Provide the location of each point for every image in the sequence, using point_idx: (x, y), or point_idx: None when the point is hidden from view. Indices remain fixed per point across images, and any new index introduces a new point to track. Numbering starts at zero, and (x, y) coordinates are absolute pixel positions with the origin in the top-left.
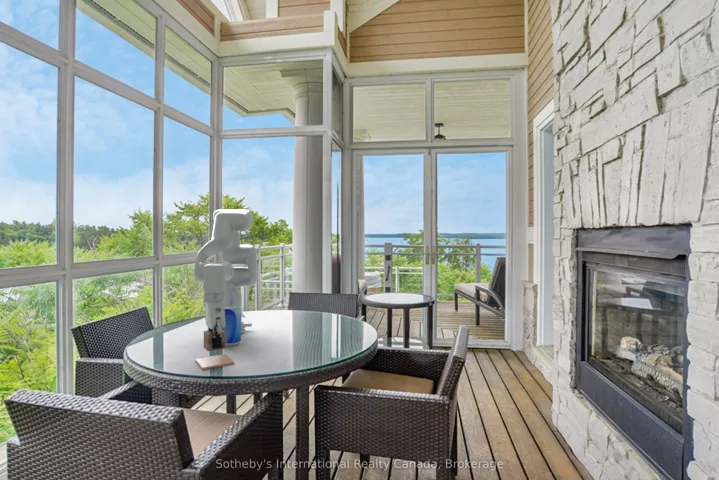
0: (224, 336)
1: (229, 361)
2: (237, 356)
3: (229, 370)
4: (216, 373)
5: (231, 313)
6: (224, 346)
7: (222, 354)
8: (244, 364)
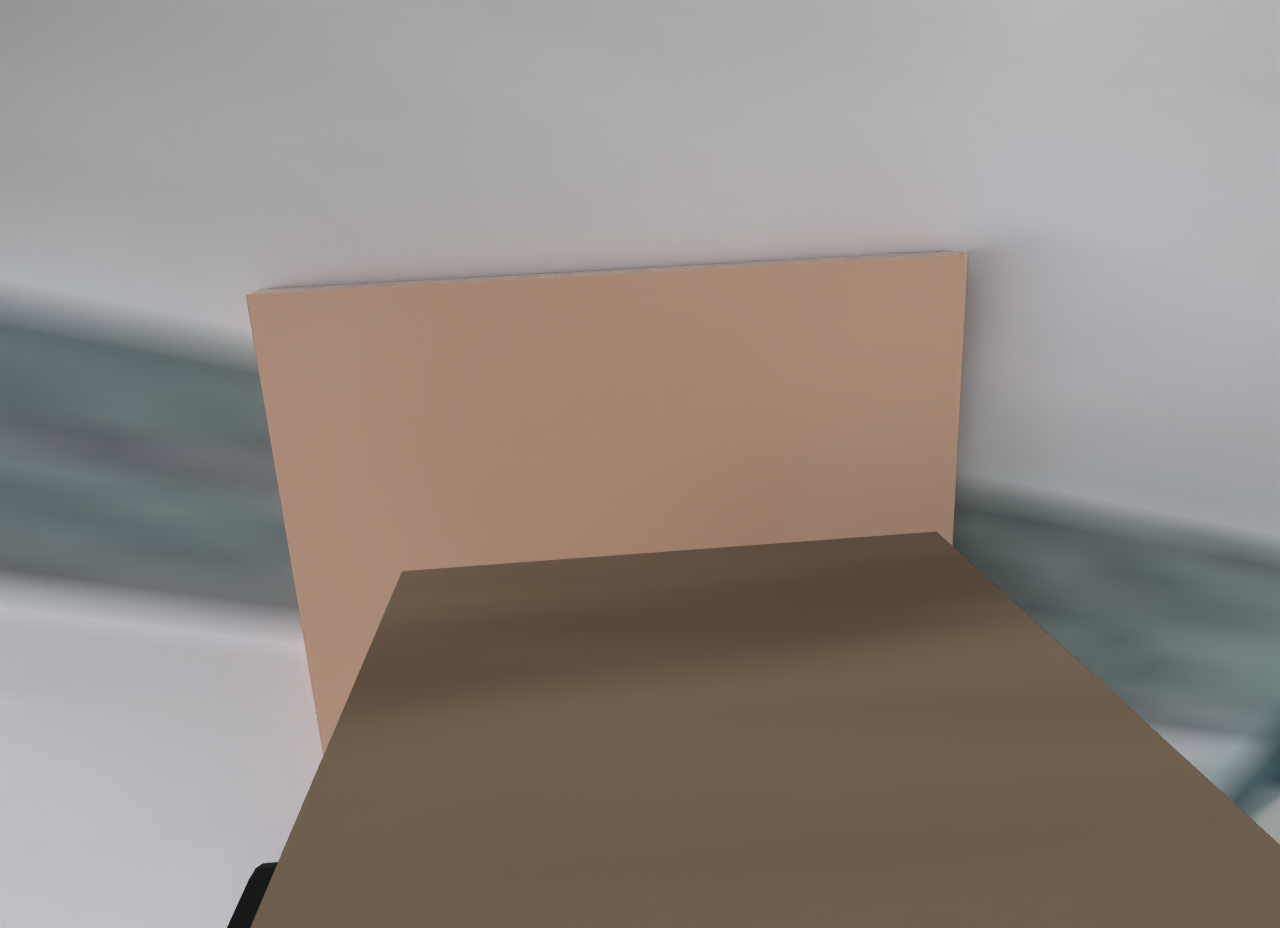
0: (1188, 778)
1: (889, 341)
2: (438, 22)
3: (1248, 421)
4: (1235, 645)
5: None
6: (957, 566)
7: (265, 371)
8: (1117, 47)
